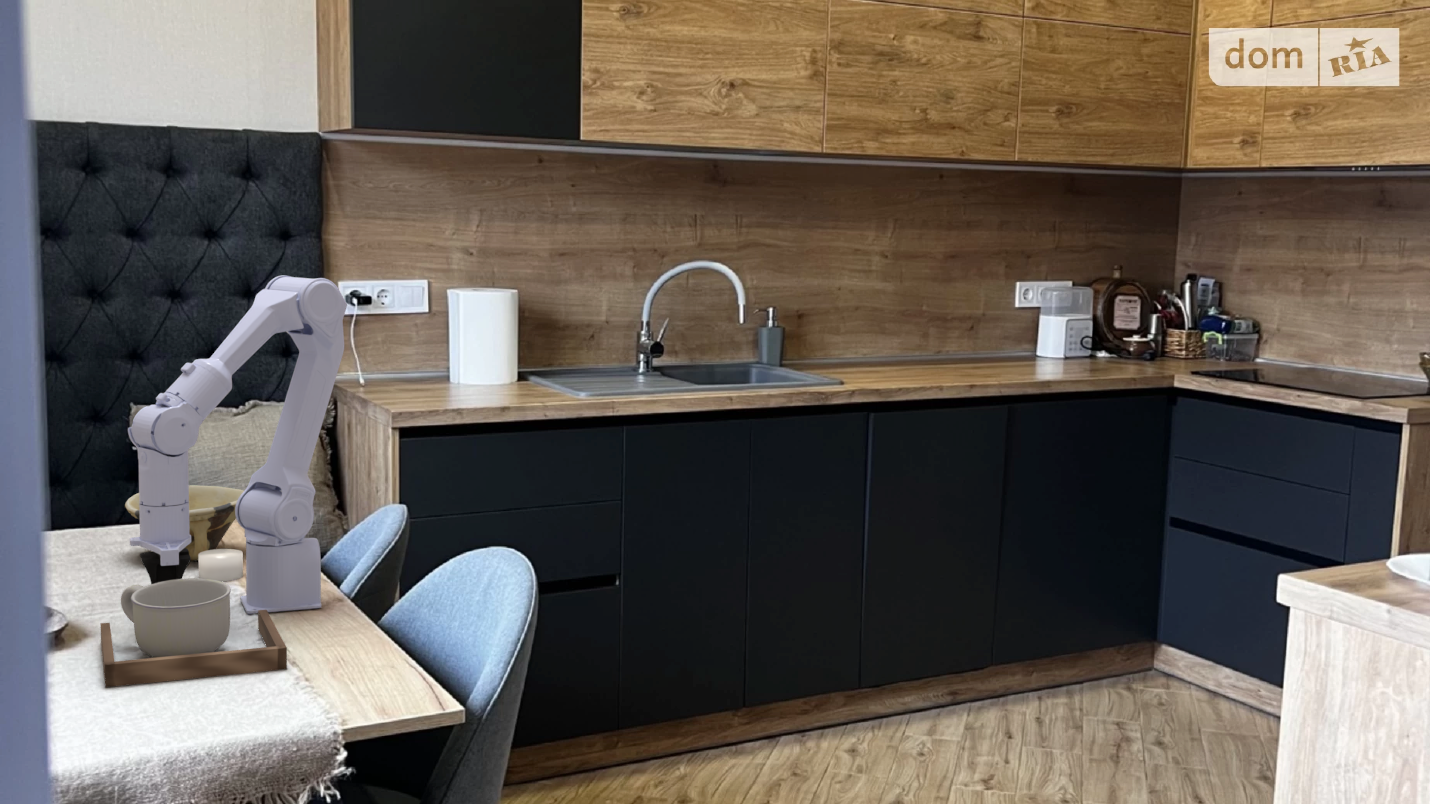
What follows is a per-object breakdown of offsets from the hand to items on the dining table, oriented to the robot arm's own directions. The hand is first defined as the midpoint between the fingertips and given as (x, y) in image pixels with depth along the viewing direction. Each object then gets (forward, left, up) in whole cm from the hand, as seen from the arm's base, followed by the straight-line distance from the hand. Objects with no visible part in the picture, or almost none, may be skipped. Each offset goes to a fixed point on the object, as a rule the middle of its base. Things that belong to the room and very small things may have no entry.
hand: (166, 609), depth 169 cm
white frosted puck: (-9, -24, -2) cm, 26 cm away
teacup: (0, +11, -3) cm, 11 cm away
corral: (-2, +13, -2) cm, 13 cm away
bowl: (-6, -38, -3) cm, 39 cm away
